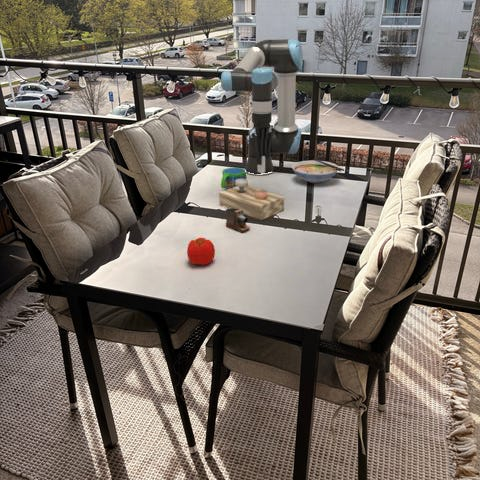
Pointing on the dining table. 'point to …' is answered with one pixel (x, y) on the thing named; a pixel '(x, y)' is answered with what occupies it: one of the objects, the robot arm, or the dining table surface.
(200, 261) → the tomato
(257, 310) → the dining table surface
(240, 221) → the electronic device
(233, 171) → the snack cup
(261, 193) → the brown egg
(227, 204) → the switch box
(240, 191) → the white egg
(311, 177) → the ramen bowl
